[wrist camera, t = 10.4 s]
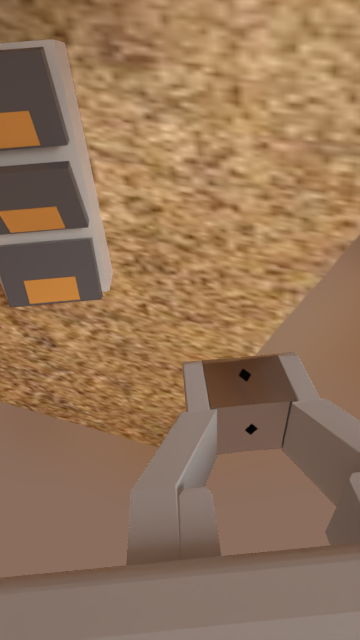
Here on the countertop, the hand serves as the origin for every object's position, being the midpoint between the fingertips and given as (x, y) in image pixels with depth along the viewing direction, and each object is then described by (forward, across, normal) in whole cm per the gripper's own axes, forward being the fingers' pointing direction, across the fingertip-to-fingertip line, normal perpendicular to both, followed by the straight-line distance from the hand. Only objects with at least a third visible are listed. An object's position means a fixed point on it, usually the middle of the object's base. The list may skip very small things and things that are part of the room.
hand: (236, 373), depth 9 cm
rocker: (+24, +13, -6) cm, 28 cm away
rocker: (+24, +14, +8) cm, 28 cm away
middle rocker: (+24, +13, +1) cm, 27 cm away
